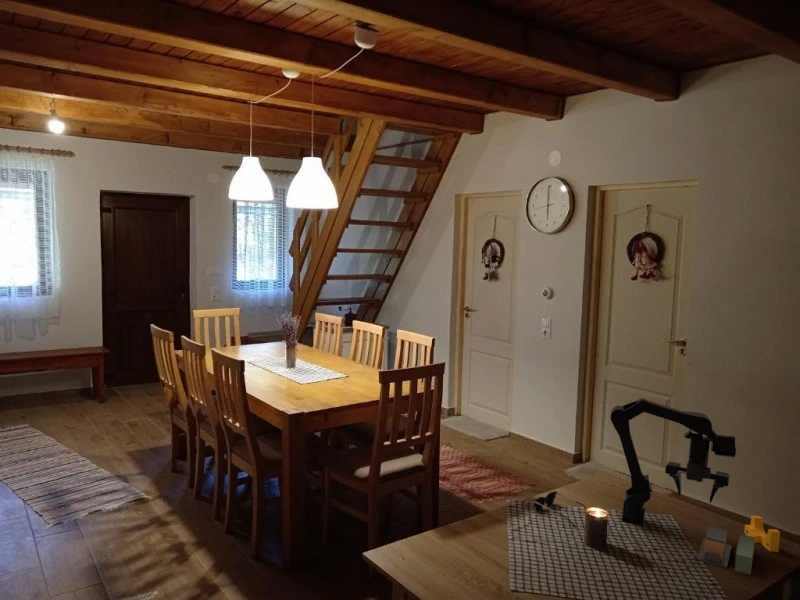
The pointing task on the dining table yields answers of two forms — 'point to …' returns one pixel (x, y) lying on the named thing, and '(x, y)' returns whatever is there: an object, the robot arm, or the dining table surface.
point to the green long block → (744, 554)
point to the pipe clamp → (763, 534)
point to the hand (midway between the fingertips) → (694, 498)
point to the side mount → (714, 556)
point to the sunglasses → (549, 500)
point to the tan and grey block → (715, 541)
